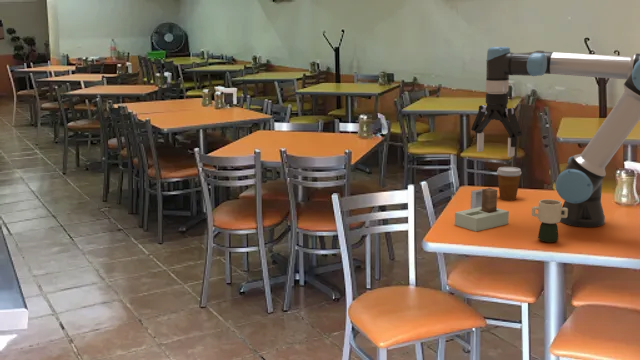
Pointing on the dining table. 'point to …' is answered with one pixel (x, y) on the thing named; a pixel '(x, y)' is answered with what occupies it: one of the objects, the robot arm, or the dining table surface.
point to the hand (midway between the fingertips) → (495, 153)
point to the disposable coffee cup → (508, 182)
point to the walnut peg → (489, 200)
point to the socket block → (481, 219)
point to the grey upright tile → (476, 198)
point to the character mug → (549, 218)
